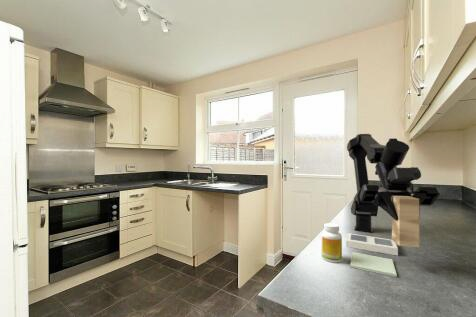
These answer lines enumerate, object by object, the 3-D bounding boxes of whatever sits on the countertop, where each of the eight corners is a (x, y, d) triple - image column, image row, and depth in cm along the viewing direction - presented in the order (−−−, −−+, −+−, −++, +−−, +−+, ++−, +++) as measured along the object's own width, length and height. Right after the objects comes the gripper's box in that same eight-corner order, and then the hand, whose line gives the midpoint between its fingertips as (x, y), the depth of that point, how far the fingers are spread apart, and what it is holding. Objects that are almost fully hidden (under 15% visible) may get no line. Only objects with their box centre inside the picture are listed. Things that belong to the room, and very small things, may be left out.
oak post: (391, 239, 63) (391, 195, 63) (410, 241, 62) (410, 196, 62) (399, 245, 59) (399, 198, 59) (419, 247, 58) (419, 198, 58)
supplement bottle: (344, 264, 61) (344, 228, 61) (323, 262, 62) (323, 226, 62) (339, 256, 66) (339, 223, 66) (320, 254, 67) (320, 221, 67)
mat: (352, 254, 68) (352, 252, 68) (392, 261, 63) (392, 259, 63) (350, 267, 59) (350, 264, 59) (396, 277, 54) (396, 274, 54)
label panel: (347, 238, 82) (347, 232, 82) (394, 246, 75) (394, 239, 75) (346, 246, 74) (346, 239, 74) (397, 255, 67) (397, 248, 67)
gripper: (362, 157, 67) (376, 200, 56) (435, 158, 63) (466, 204, 52) (355, 181, 74) (365, 223, 64) (419, 183, 70) (443, 228, 59)
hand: (407, 220), depth 59 cm, fingers closed on oak post, 4 cm apart
